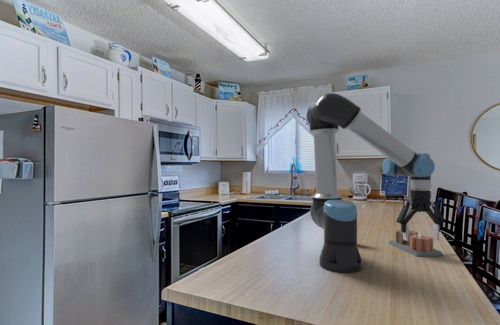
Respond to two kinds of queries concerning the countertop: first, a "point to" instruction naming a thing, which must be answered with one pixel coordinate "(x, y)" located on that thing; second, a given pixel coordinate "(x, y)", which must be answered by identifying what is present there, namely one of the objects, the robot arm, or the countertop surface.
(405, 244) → the gear board
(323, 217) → the robot arm
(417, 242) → the gear
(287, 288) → the countertop surface
